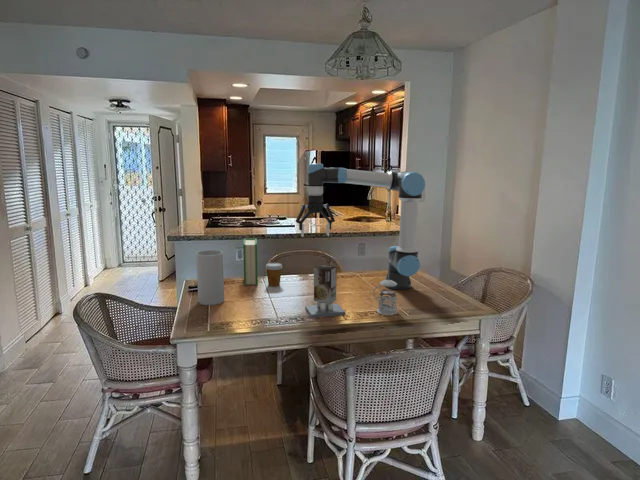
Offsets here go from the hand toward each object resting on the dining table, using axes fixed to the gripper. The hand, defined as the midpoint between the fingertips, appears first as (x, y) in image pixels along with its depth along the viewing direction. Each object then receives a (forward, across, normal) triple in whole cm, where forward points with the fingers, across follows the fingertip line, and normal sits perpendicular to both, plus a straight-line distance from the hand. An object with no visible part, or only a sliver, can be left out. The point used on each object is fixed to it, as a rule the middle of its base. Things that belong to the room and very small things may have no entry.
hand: (315, 236), depth 217 cm
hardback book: (+32, +30, -33) cm, 55 cm away
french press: (+32, -26, +32) cm, 52 cm away
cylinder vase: (+31, +53, -1) cm, 62 cm away
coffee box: (+26, +2, +26) cm, 37 cm away
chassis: (+31, +2, +26) cm, 41 cm away
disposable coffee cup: (+32, +18, -23) cm, 43 cm away
